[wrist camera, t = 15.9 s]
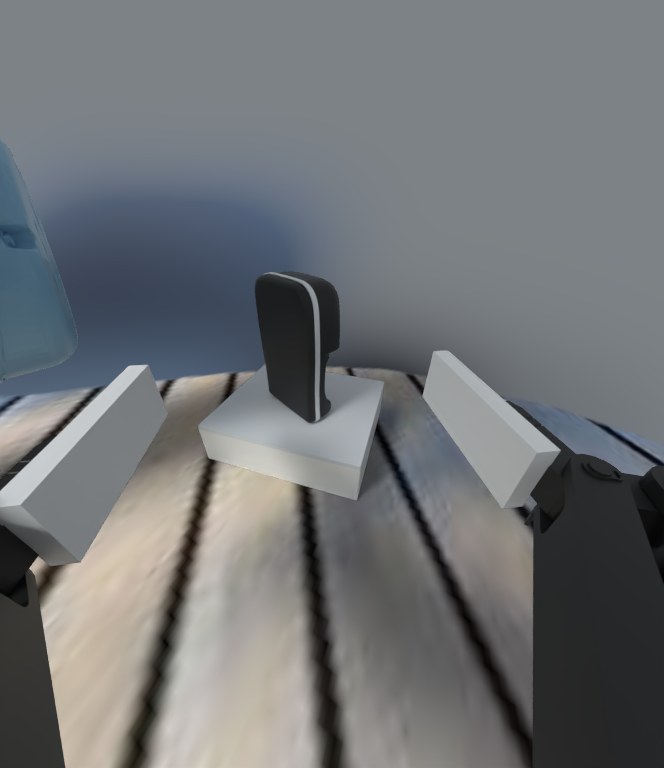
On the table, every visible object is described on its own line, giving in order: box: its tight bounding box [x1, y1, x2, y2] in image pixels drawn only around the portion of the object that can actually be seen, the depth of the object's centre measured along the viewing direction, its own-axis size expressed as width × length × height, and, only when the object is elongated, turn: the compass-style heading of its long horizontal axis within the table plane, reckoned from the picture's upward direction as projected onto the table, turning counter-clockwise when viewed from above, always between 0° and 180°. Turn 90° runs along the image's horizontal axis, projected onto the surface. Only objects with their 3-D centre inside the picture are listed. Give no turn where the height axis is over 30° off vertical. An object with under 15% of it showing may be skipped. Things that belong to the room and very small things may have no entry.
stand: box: [197, 364, 384, 501], centre depth 27 cm, size 14×12×4 cm
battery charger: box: [255, 272, 340, 423], centre depth 22 cm, size 7×4×11 cm, turn 43°
